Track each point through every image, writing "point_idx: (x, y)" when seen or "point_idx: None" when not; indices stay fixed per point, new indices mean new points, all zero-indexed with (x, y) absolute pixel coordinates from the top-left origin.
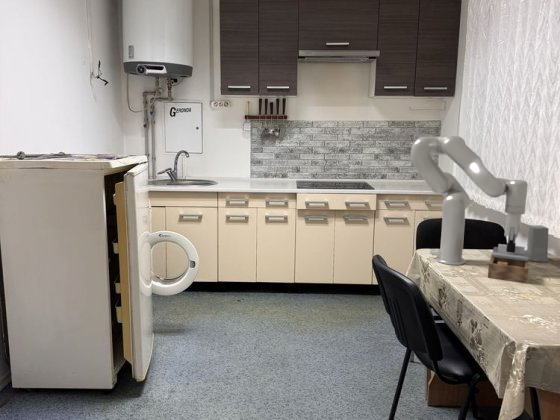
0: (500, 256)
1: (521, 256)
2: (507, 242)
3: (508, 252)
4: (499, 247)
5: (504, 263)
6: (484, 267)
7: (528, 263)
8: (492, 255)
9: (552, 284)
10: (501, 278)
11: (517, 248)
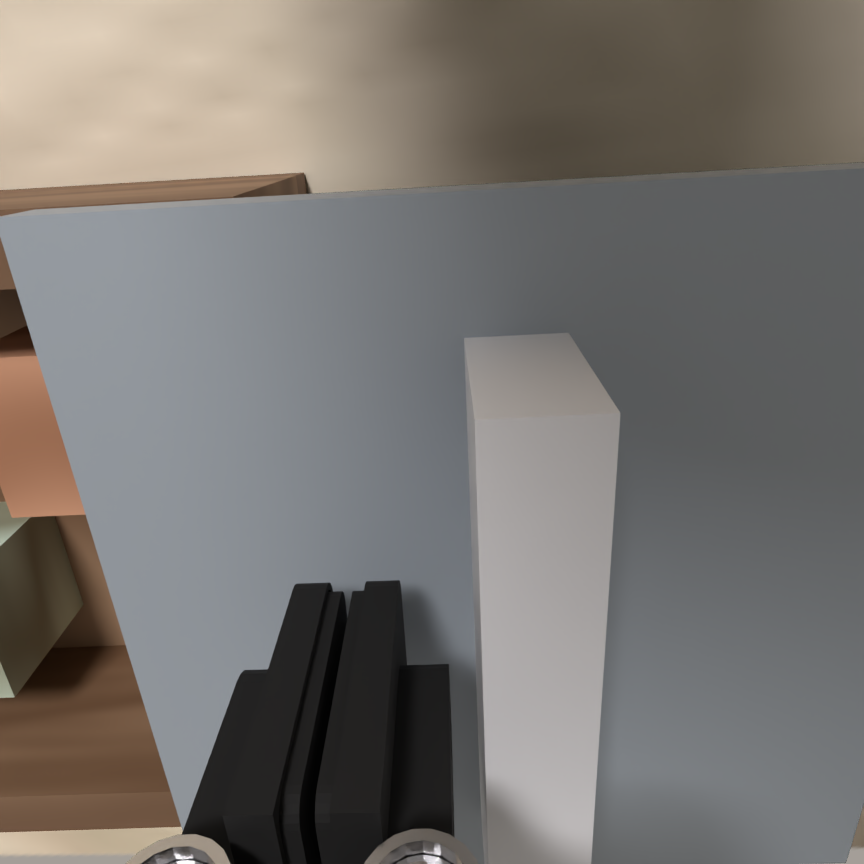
0: (84, 434)
1: None
2: (335, 808)
3: (469, 578)
4: (471, 418)
5: (64, 473)
6: (333, 44)
7: (106, 827)
8: (21, 241)
9: (126, 836)
10: None
11: (486, 832)
